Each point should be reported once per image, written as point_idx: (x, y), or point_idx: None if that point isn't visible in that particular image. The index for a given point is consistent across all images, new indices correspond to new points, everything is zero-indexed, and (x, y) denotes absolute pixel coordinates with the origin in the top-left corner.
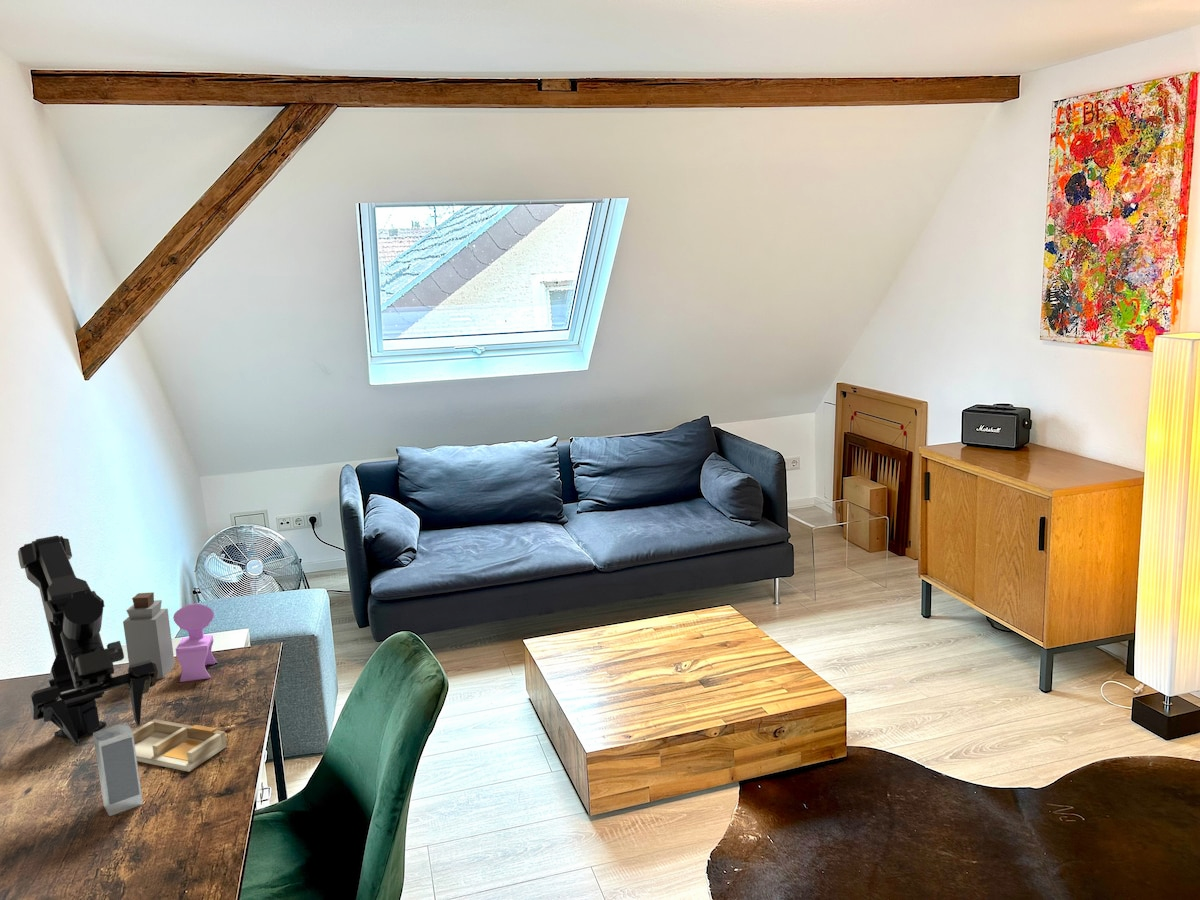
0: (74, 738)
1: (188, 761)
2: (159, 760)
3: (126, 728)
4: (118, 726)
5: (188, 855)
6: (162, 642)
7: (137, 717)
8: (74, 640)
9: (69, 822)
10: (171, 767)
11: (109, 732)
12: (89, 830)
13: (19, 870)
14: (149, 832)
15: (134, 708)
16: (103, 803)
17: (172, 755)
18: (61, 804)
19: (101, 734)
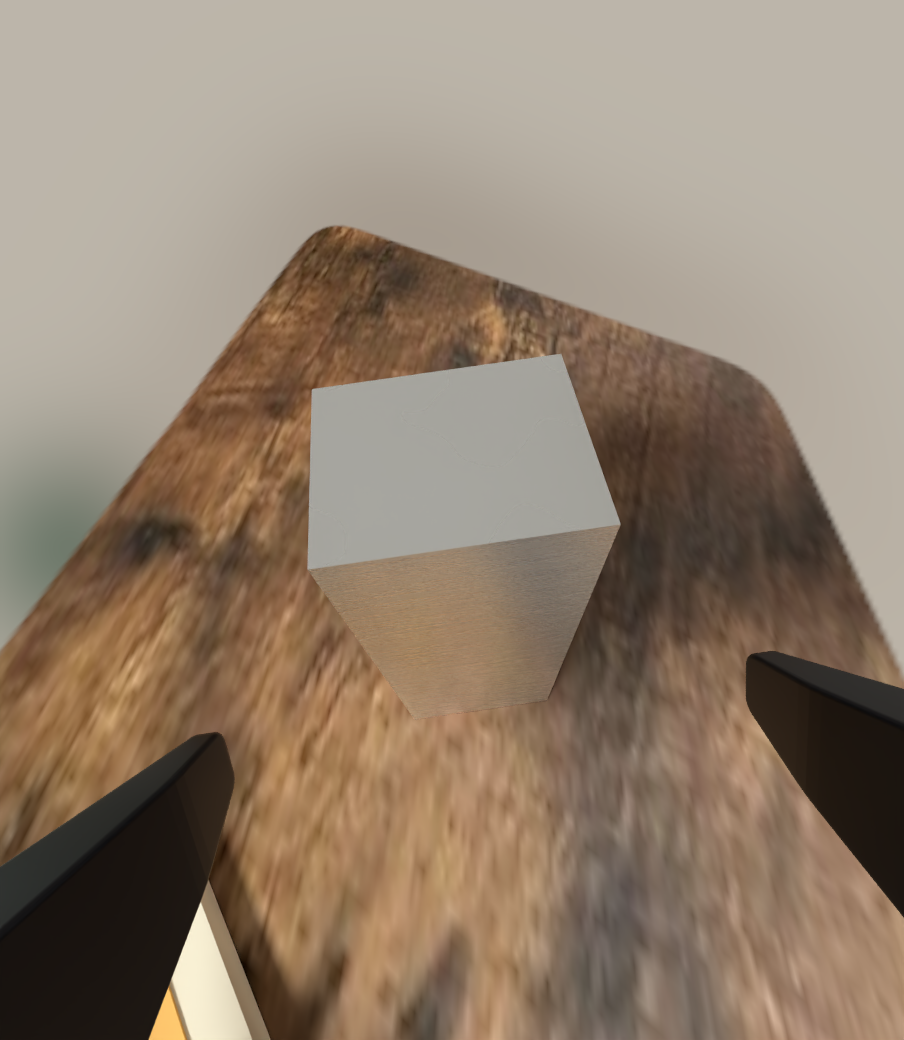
0: (804, 661)
1: None
2: (239, 1013)
3: (339, 451)
4: (390, 525)
5: (355, 320)
6: None
7: (175, 763)
8: None
9: (670, 645)
10: (218, 909)
11: (475, 455)
12: None
13: (770, 442)
14: None
15: (104, 872)
16: (547, 698)
17: (160, 1029)
18: (745, 853)
19: (540, 452)
